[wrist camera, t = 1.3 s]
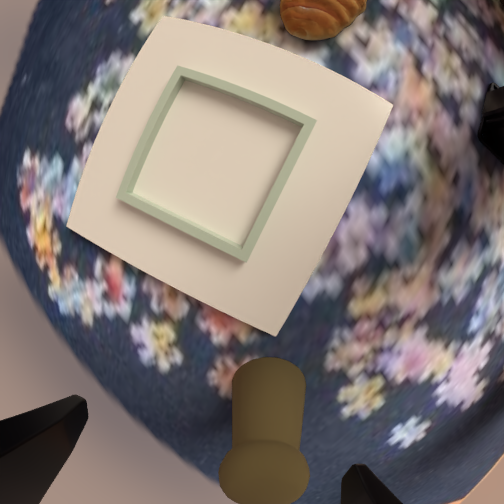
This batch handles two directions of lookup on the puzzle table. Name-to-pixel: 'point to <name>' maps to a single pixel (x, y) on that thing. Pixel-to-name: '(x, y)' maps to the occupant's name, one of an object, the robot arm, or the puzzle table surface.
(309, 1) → the pastry
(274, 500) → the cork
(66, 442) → the robot arm
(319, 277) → the puzzle table surface
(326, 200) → the cream flat square slab
